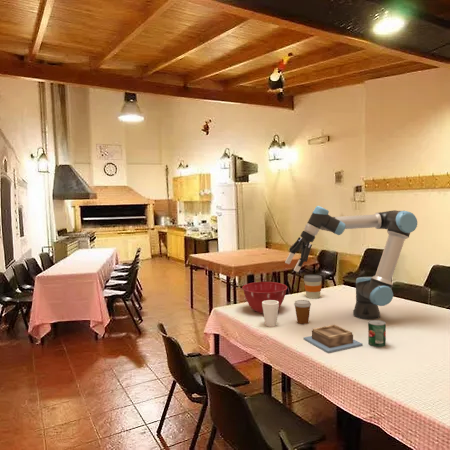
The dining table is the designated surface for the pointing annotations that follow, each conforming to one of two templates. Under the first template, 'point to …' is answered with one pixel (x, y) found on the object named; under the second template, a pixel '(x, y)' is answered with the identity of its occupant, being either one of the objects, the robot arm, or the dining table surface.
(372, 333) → the canned tomato
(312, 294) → the reusable coffee cup
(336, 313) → the dining table surface
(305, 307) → the disposable coffee cup
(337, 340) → the walnut block
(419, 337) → the dining table surface
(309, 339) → the board
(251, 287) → the mixing bowl
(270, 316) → the foam cup
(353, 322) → the dining table surface
